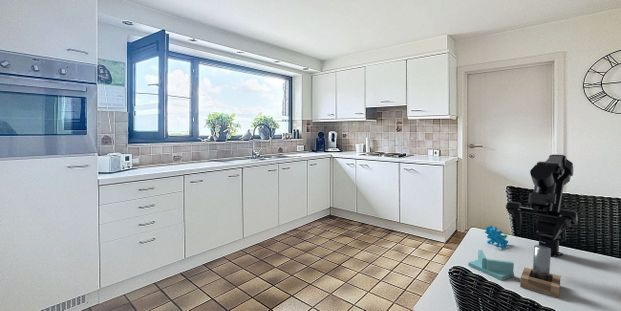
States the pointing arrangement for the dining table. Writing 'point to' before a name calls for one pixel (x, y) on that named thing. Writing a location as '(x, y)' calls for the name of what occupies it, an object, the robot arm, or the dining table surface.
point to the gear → (496, 237)
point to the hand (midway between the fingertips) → (535, 235)
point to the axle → (541, 262)
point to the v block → (493, 266)
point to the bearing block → (540, 283)
